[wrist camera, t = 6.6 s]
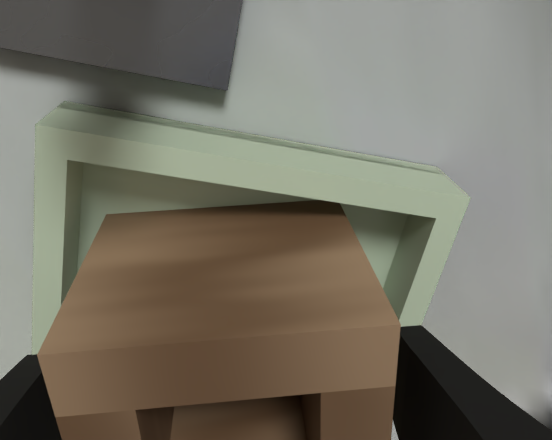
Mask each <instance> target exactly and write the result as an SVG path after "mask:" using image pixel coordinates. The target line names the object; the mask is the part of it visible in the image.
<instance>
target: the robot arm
mask: <svg viewBox="0 0 552 440" xmlns="http://www.w3.org/2000/svg"><path fill="white" fill-rule="evenodd" d="M393 421H394V425H395V428H396V432H397V435H398V438H399V440H552V431H551V430H550V429H548V428H547V427H546V426H544V425H543V424H541V423H540V422H538V421H537V420H536V419H534V418H533V417H532V416H530V415H529V414H528V413H526V412H525V411H524V410H522V409H521V408H520V407H518V406H517V405H516V404H514V403H513V402H511V401H510V400H509V399H508V398H506V397H505V396H504V395H503V394H501V393H500V392H499V391H497V390H496V389H495V388H494V387H492V386H491V385H490V384H489V383H488V382H486V381H485V380H484V379H483V378H481V377H480V376H479V375H478V374H477V373H475V372H474V371H473V370H472V369H471V368H470V367H468V366H467V365H466V364H465V363H464V362H463V361H461V360H460V359H459V358H458V357H457V356H456V355H455V354H453V353H452V352H451V351H450V350H449V349H448V348H447V347H445V346H444V345H443V344H442V343H441V342H440V341H439V340H437V339H436V338H435V337H434V336H433V335H432V334H431V333H429V332H428V331H427V330H426V329H425V328H424V327H422V326H421V325H416V326H403V327H400V339H399V351H398V362H397V374H396V386H395V397H394V409H393ZM0 440H62V438H61V435H60V431H59V428H58V425H57V421H56V418H55V414H54V411H53V408H52V404H51V401H50V398H49V394H48V391H47V387H46V384H45V381H44V377H43V374H42V370H41V367H40V364H39V360H38V357H37V354H34V355H27V356H26V357H24V358H23V359H22V360H21V361H20V362H19V363H18V364H17V365H16V366H15V367H14V368H13V369H11V370H10V371H9V372H8V373H7V374H6V375H5V376H4V377H3V378H2V379H1V380H0Z"/></svg>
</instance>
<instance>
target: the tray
mask: <svg viewBox="0 0 552 440" xmlns="http://www.w3.org/2000/svg"><path fill="white" fill-rule="evenodd" d="M470 199H471V197H470V196H468V195H467V194H466V193H465V192H464V191H463V190H462V189H461V188H460V187H459V186H457V185H456V184H455V183H454V182H453V181H452V180H451V179H450V178H449V177H448V176H446V175H445V174H444V173H443V172H442V171H441V170H440V169H439V168H438V167H435V166H429V165H423V164H418V163H412V162H406V161H401V160H395V159H389V158H384V157H378V156H372V155H367V154H361V153H355V152H350V151H344V150H338V149H333V148H327V147H322V146H316V145H310V144H305V143H299V142H293V141H288V140H282V139H276V138H271V137H265V136H259V135H254V134H248V133H242V132H237V131H231V130H225V129H220V128H214V127H208V126H203V125H197V124H191V123H186V122H180V121H174V120H169V119H163V118H157V117H152V116H146V115H140V114H135V113H129V112H123V111H118V110H112V109H106V108H101V107H95V106H89V105H84V104H78V103H72V102H67V101H64V102H63V103H62V104H60V105H59V106H58V107H57V108H55V109H54V110H53V111H52V112H50V113H49V114H48V115H47V116H45V117H44V118H43V119H42V120H40V121H39V122H38V123H37V124H35V172H34V236H33V301H32V355H34V354H38V352H39V350H40V348H41V346H42V344H43V342H44V340H45V338H46V336H47V334H48V332H49V330H50V328H51V326H52V324H53V322H54V319H55V317H56V315H57V313H58V311H59V309H60V307H61V305H62V303H63V301H64V299H65V297H66V295H67V293H68V291H69V289H70V287H71V285H72V283H73V281H74V279H75V277H76V275H77V273H78V271H79V269H80V267H81V265H82V263H83V261H84V259H85V256H86V254H87V252H88V250H89V248H90V246H91V244H92V242H93V240H94V238H95V236H96V234H97V232H98V230H99V228H100V226H101V224H102V222H103V220H104V218H105V216H106V214H117V213H132V212H147V211H162V210H177V209H192V208H207V207H221V206H236V205H251V204H266V203H281V202H296V201H311V200H324V201H330V202H337V203H340V205H341V207H342V209H343V211H344V213H345V215H346V217H347V219H348V221H349V223H350V225H351V227H352V228H353V230H354V232H355V234H356V236H357V238H358V240H359V242H360V244H361V246H362V248H363V250H364V252H365V254H366V256H367V258H368V260H369V262H370V264H371V266H372V268H373V270H374V272H375V274H376V276H377V278H378V280H379V282H380V284H381V286H382V288H383V290H384V292H385V294H386V296H387V298H388V300H389V302H390V304H391V306H392V308H393V310H394V312H395V314H396V316H397V318H398V320H399V322H400V324H401V327H403V326H416V325H421V324H422V322H423V319H424V317H425V314H426V312H427V309H428V306H429V304H430V301H431V299H432V296H433V294H434V291H435V289H436V286H437V283H438V281H439V278H440V276H441V273H442V271H443V268H444V265H445V263H446V260H447V258H448V255H449V253H450V250H451V247H452V245H453V242H454V240H455V237H456V235H457V232H458V229H459V227H460V224H461V222H462V219H463V217H464V214H465V211H466V209H467V206H468V204H469V201H470Z"/></svg>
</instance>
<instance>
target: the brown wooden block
mask: <svg viewBox="0 0 552 440" xmlns="http://www.w3.org/2000/svg"><path fill="white" fill-rule="evenodd" d="M400 327H401V324H400V322H399V320H398V318H397V316H396V314H395V312H394V310H393V308H392V306H391V304H390V302H389V300H388V298H387V296H386V294H385V292H384V290H383V288H382V286H381V284H380V282H379V280H378V278H377V276H376V274H375V272H374V270H373V268H372V266H371V264H370V262H369V260H368V258H367V256H366V254H365V252H364V250H363V248H362V246H361V244H360V242H359V240H358V238H357V236H356V234H355V232H354V230H353V228H352V227H351V225H350V223H349V221H348V219H347V217H346V215H345V213H344V211H343V209H342V207H341V205H340V203H337V202H330V201H324V200H311V201H296V202H281V203H266V204H251V205H236V206H221V207H207V208H192V209H177V210H162V211H147V212H132V213H117V214H106V216H105V218H104V220H103V222H102V224H101V226H100V228H99V230H98V232H97V234H96V236H95V238H94V240H93V242H92V244H91V246H90V248H89V250H88V252H87V254H86V256H85V259H84V261H83V263H82V265H81V267H80V269H79V271H78V273H77V275H76V277H75V279H74V281H73V283H72V285H71V287H70V289H69V291H68V293H67V295H66V297H65V299H64V301H63V303H62V305H61V307H60V309H59V311H58V313H57V315H56V317H55V319H54V322H53V324H52V326H51V328H50V330H49V332H48V334H47V336H46V338H45V340H44V342H43V344H42V346H41V348H40V350H39V352H38V354H37V357H38V360H39V364H40V367H41V370H42V374H43V377H44V381H45V384H46V387H47V391H48V394H49V398H50V401H51V404H52V408H53V411H54V414H55V418H56V421H57V425H58V428H59V431H60V435H61V438H62V440H391V432H392V421H393V409H394V397H395V386H396V374H397V362H398V351H399V339H400Z"/></svg>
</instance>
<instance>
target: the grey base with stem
mask: <svg viewBox="0 0 552 440" xmlns="http://www.w3.org/2000/svg"><path fill="white" fill-rule="evenodd" d="M241 6H242V0H0V48H5V49H10V50H16V51H21V52H26V53H32V54H37V55H42V56H47V57H53V58H58V59H63V60H69V61H74V62H79V63H84V64H90V65H95V66H100V67H105V68H111V69H116V70H121V71H127V72H132V73H137V74H142V75H148V76H153V77H158V78H164V79H169V80H174V81H179V82H185V83H190V84H195V85H201V86H206V87H211V88H216V89H222V90H228V84H229V78H230V72H231V66H232V60H233V54H234V48H235V42H236V36H237V30H238V24H239V18H240V12H241Z"/></svg>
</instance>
